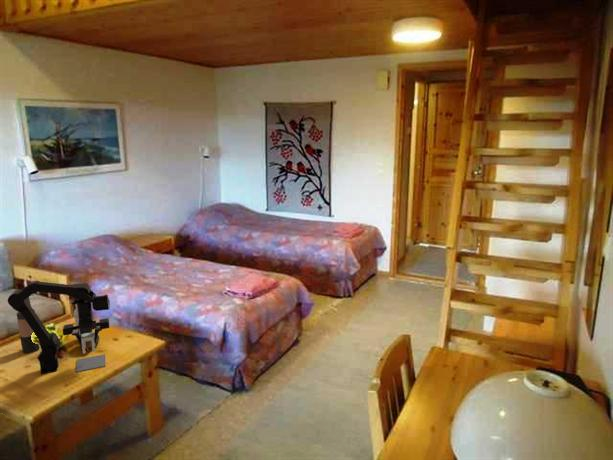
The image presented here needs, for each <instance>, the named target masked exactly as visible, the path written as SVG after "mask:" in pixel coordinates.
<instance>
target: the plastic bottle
mask: <svg viewBox="0 0 613 460" xmlns="http://www.w3.org/2000/svg"><path fill="white" fill-rule="evenodd" d="M74 306H75V309H74V311H73V312H72V313H73V314H72V315H73V318H74V323H75V326H78V323H79V318H78V310H77V304H74ZM81 335H82V334H81ZM75 339H76V340H77V341H78V339H77V337H76V336H75Z"/></svg>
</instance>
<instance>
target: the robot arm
mask: <svg viewBox="0 0 613 460" xmlns="http://www.w3.org/2000/svg"><path fill="white" fill-rule="evenodd" d="M35 293H45V294H52V295H53V294H54V295H64V296H68V297H70V298H73V299H74V300H72V302H71V305H73V306H75V304H77V310H78V318H79V323H78V326H76V325H74V324H73V323H70V324H64V325H63V327H62V335H63V336H69V335H71V336H75V338H76V337H77V338H76V340H77V339H78V340H79V342H80V344H81V345H82V342H81V334H85V333H91V332H92V331H94V333H95V336H94V342H95V343H96V339H97V335H98V336H99V333H100V332H101V331H103V330H106V329H109V328H110V319H109V318H101V319H99V322H98V321H96V320H94V318H93V310H94V311H95V312H99V311H100V312H101V311H107V310H108V311H109V310H110V307H111V305H110V303H111V302H110V301H111V300H110V299H109V295H108V294H104V295H97V294H96V293H95V292H94V291H93V290H92V289H91V286H90V285H89V284H87V283H84V282H83V283H80V282H79V283H73V284H65V283H58V282H57V283H56V282H48V281H40V280H33V281H32V282H31V283H29V284H27V285H26V286H24V287H22V288H20V289H16V290H14V291H13V292H12V293H11V294H10V295H9V296H8V297H7V303H8V305H9V306H10V307H11V308H12V309H13V310H15V311H16V312H20V313H21V314H22V316H23V317H24V319H25V320H26V322H27V323H28V325H29V326H30V327H31V329H32V330H33V332H34V333H35V335H36V336H37V338H38V339H39V345H40V349H41V350H40V353H39V354H38V356H37V361H39V362H38V363H39V365H40V366H39V368H40V373H39V374H41V375H43V374H47V373H53V372H57V371H58V368H59V367H60V364H59V357H58V356H57V353H58V350H59V348H60V346H61V342H60V341H61V339H60V338H59V337H58V335H57V333H56V332H54V333H50V332H49V330H48V329H47V328H46V327H45V324H43V322H42V320H41V319H40V318H39V315H37V313H36V311H35V312H34V310H35V309H34V310H33V307H32V304H31V299H30V297H31V296H32V295H34V294H35ZM78 340H77V341H78Z"/></svg>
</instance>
